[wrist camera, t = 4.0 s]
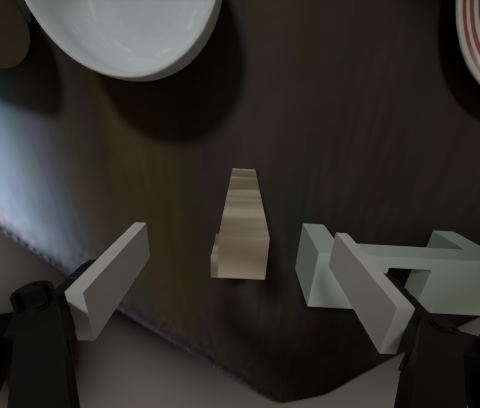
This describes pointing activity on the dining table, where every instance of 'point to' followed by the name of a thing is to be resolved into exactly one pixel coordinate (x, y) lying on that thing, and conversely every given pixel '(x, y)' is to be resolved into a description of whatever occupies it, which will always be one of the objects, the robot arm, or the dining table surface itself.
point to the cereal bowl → (129, 33)
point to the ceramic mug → (12, 34)
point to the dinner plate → (469, 34)
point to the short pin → (215, 258)
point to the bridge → (384, 257)
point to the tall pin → (243, 229)
